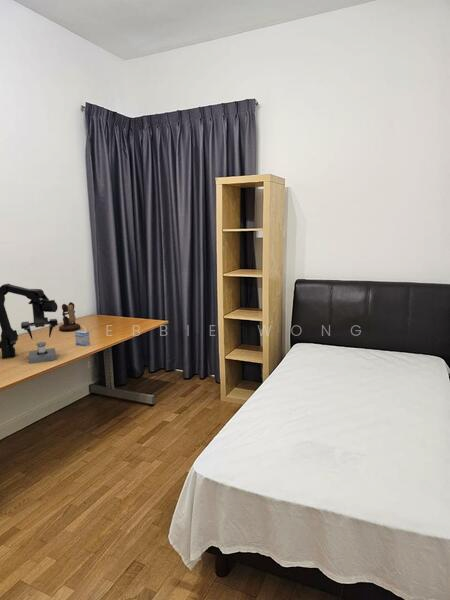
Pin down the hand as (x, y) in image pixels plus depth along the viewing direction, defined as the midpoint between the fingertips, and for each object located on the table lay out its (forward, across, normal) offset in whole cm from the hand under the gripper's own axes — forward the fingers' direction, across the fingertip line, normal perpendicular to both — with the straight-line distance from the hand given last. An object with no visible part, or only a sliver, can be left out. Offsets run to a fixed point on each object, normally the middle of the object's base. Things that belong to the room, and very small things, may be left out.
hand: (41, 338), depth 224 cm
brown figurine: (+12, +20, +62) cm, 66 cm away
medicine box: (+12, +24, +17) cm, 32 cm away
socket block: (+12, 0, 0) cm, 12 cm away
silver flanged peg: (+12, 0, 0) cm, 12 cm away
